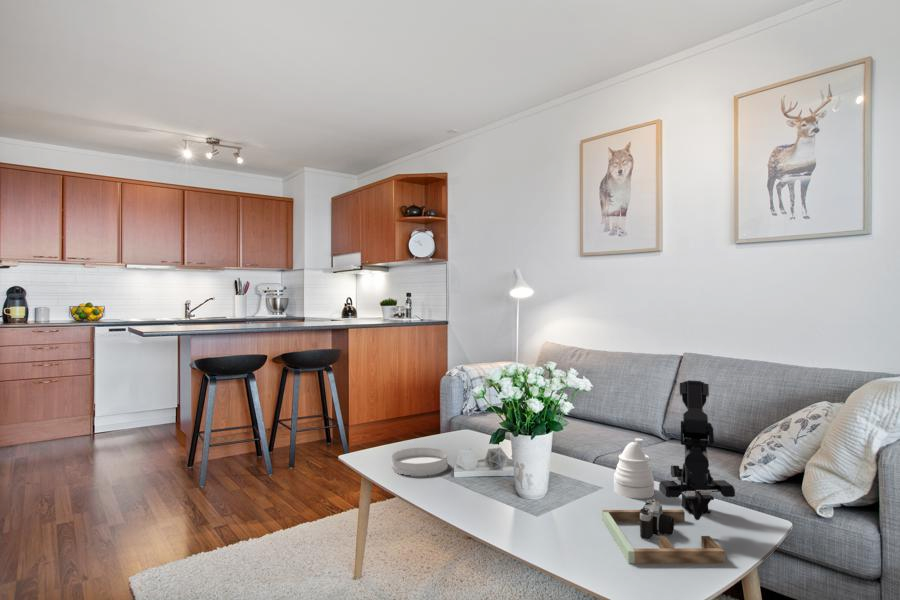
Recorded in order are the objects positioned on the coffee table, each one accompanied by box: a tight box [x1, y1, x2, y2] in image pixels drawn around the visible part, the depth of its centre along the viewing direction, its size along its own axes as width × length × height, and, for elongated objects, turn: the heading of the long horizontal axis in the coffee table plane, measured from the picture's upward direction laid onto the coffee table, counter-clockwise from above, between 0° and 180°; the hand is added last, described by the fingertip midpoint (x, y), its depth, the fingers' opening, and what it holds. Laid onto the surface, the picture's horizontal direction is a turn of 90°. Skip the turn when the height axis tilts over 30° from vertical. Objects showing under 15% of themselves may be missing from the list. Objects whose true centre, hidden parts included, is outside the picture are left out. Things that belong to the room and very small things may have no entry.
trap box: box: [602, 509, 726, 564], centre depth 147 cm, size 24×26×3 cm
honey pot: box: [613, 437, 655, 500], centre depth 183 cm, size 13×13×18 cm
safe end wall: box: [601, 509, 636, 564], centre depth 147 cm, size 2×26×3 cm, turn 178°
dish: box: [391, 447, 449, 477], centre depth 213 cm, size 22×22×5 cm
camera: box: [639, 498, 675, 541], centre depth 151 cm, size 13×8×9 cm, turn 149°
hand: (696, 519), depth 150 cm, fingers closed
